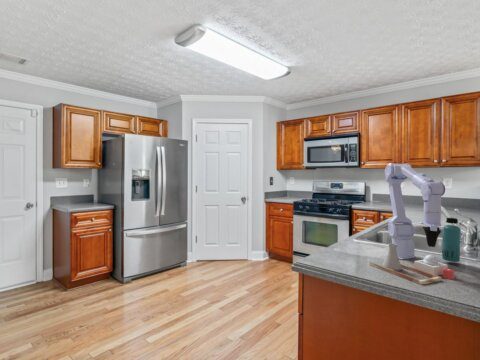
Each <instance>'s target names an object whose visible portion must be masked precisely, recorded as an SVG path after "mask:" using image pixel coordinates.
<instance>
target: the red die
mask: <svg viewBox="0 0 480 360" xmlns="http://www.w3.org/2000/svg"><path fill="white" fill-rule="evenodd" d="M455 272H456V269H452V268H449V267H448V268H445V269H443V275H442V279H448V280H451V281H452V280H454V279H455V278H456V277H455V275H456V273H455Z"/></svg>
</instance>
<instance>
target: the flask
mask: <svg viewBox="0 0 480 360" xmlns="http://www.w3.org/2000/svg"><path fill="white" fill-rule="evenodd" d="M387 245H388V250H387V254H386V256H385V258H384V260H383V262H382V265H381V266H384V267H387V268H389V269H392V270H395V271H397V272H400V271H403V268H402V267H401V264H402V263H401V261H400V260H399V258H398V256H397V251H396V247H397V245H396V244H392V243H388V244H387ZM400 263H401V264H400Z"/></svg>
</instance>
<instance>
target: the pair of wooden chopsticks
mask: <svg viewBox="0 0 480 360" xmlns="http://www.w3.org/2000/svg"><path fill="white" fill-rule="evenodd" d="M400 264H401V267H402V269H405V270H407V271H411V272H413V273H416V274H419V275H422V276H424V277H428V278H426V279H418V278H416V277H413V276H410V275H408V274H405V273H402V272H400V271H395V270H392V269H389V268H387V267H384V266H382V265H381V264H378V263H375V262H372V261H369V266H371V267H373V268H376V269H379V270H382V271H384V272H387V273H390V274H391V275H395V276H398V277H400V278H403V279H405V280H408V281H410V282H412V283H416V284H418V285H427V284H432V283H437V282H442V281H443V276H440V275H438V276H436V275H433V274H430V273H427V272H424V271H421V270H419V269H416V268H414V266H413V267H412V266H409V265H407V264H403V263H401V262H400Z"/></svg>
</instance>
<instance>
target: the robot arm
mask: <svg viewBox="0 0 480 360" xmlns="http://www.w3.org/2000/svg"><path fill="white" fill-rule="evenodd" d="M384 175H385V181H386V182H387V184H388V189H389V190H388V192H389V196H390V197H389V198H390V203H391V204H390V205H391V210H392V218H391V219H390V220H388V222H387V223H388V224H387V225H388V227H387V232H388V234H389V236H390V237H391V240H392V241H391V244H396V245H397V247H396V251H397V256H398V259H400V260H408V259H414V258H417V256H416V255H415V251H416V249H415V248H416V247H415V245H416V244H415V241H414V239H413V237H414V235H415V233H416V229H415V227H414V225H413V222H412V220H411V219H410V218H408V217H407V216H406V210H405V203H404V198H403V192H402V187H401V184H402V183H405V182H406V180H407V179H409V180H410V181H411V183H412V185H414V186H415V187H417V188H418V189H419V190H420V193H421V195H422V196H421V197H422V200H423V213H422V215H423V217H422V218H423V221H419V224H420V225H423V226H422V229H423V230H424V233H425V238H426V244H427V246H428V247H431V248H436V246H437V240H438V238H439V235H440V234H441V233H442V230H441V229H440V228H441V226H442V223H441V221H442V220H441V219H442V218H441V217H442V197H443V196H444V195H445V193H446V186H445V184H444V183H443V182H442V181H435V180H434V179H433V178H430V177H429V176H428V175H427V174H426V173H425V172H424V173H423V172H422V173H418V172H417V171H416V170H415V169H413V168H412V165H411V164H409V163H391V162H390V163H388V164H386V166H385V169H384Z"/></svg>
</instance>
